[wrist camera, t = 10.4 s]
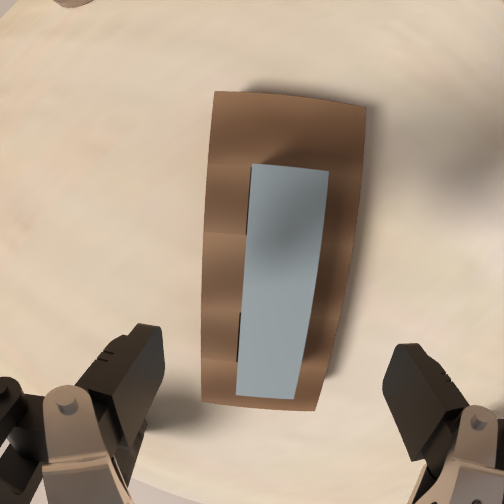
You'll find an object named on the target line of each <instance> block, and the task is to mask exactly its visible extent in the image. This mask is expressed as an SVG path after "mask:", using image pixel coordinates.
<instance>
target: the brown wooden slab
mask: <svg viewBox="0 0 504 504" xmlns="http://www.w3.org/2000/svg"><path fill="white" fill-rule="evenodd" d="M365 122H366V107H361V106H356V105H351V104H345V103H340V102H334V101H328V100H321V99H314V98H307V97H299V96H290V95H280V94H268V93H253V92H228V91H215V92H214V101H213V110H212V121H211V131H210V142H209V154H208V167H207V181H206V196H205V213H204V233H203V257H202V292H201V389H202V402H207V403H214V404H221V405H229V406H238V407H248V408H259V409H272V410H290V411H315V409H316V406H317V402H318V399H319V396H320V392H321V389H322V385H323V382H324V378H325V375H326V371H327V367H328V363H329V360H330V356H331V352H332V348H333V344H334V340H335V335H336V331H337V327H338V322H339V318H340V313H341V308H342V304H343V299H344V294H345V289H346V283H347V278H348V273H349V267H350V261H351V255H352V249H353V242H354V236H355V229H356V222H357V214H358V206H359V197H360V188H361V178H362V167H363V155H364V141H365ZM252 164H264V165H276V166H286V167H296V168H305V169H314V170H322V171H329V177H328V187H327V198H326V207H325V216H324V225H323V233H322V241H321V249H320V256H319V263H318V270H317V277H316V284H315V290H314V296H313V303H312V309H311V314H310V320H309V326H308V331H307V337H306V342H305V347H304V353H303V358H302V363H301V367H300V372H299V377H298V382H297V386H296V391H295V395H294V399H277V398H263V397H251V396H241V395H236V383H237V368H238V353H239V338H240V324H241V309H242V295H243V281H244V267H245V253H246V239H247V226H248V212H249V199H250V186H251V173H252Z"/></svg>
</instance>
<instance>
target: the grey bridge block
mask: <svg viewBox="0 0 504 504" xmlns="http://www.w3.org/2000/svg"><path fill="white" fill-rule="evenodd" d="M328 177H329V171H322V170H314V169H305V168H296V167H286V166H276V165H264V164H252V173H251V186H250V199H249V212H248V226H247V239H246V253H245V267H244V281H243V295H242V309H241V324H240V338H239V353H238V368H237V383H236V395H241V396H251V397H263V398H277V399H294V395H295V391H296V386H297V382H298V377H299V372H300V367H301V363H302V358H303V353H304V347H305V342H306V337H307V331H308V326H309V320H310V314H311V309H312V303H313V296H314V290H315V284H316V277H317V270H318V263H319V256H320V249H321V241H322V233H323V225H324V216H325V207H326V198H327V187H328Z"/></svg>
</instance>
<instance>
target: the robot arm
mask: <svg viewBox="0 0 504 504" xmlns="http://www.w3.org/2000/svg"><path fill="white" fill-rule="evenodd" d="M53 1H55V2H56V3H58V4H59V5H61V6H62V7H66V8H73V7H77V6H81V5H83V4H85V3H88V2H90V1H91V0H53ZM164 371H165V361H164V350H163V339H162V330H161V328H160V327H159V326H152V325H147V324H141V323H138V324H137V325H136V326H135V327H134V329H133V330H132V331H131V332H130V334H129V335H128V336H127V335H121V336H119V337H118V338H116V339H114V340H112V341H111V342H110V343H109V344H108V345H107V346H106V348H105V349H104V350H103V352H101V354H100V355H99V356H98V357H97V360H95V361H94V362H93V363H92V364H91V366H90V367H89V368H88V369H87V370H86V372H85V373H84V374H83V375H82V377H81V378H80V379H79V380H78V382H77V383H76V384H75V385H74V386H73V385H65V386H60V387H57V388H55V389H53V390H51V391H50V392H49V393H48V394H47V395H46V396H45V397H44V396H36V395H30V394H24V393H23V391H22V389H21V386H20V384H19V383H18V381H16V380H15V379H13V378H11V377H0V447H1V445H2V444H3V442H4V441H5V439H6V438H7V439H8V440H9V442H10V444H9V446H8V447H7V449H6V450H5V452H4V453H3V455H2V456H1V458H0V504H30V502H31V500H32V498H33V496H34V494H35V492H36V490H37V488H38V486H39V484H40V482H41V480H42V478H43V480H44V486H45V490H46V495H47V500H48V504H134V502H133V500H132V498H131V495H130V493H129V491H128V488H127V486H126V484H125V482H124V479H123V477H122V474H121V472H120V469H119V467H118V464H117V462H116V459H115V457H114V453H115V451H116V449H117V447H118V446H119V447H122V448H125V449H128V450H130V449H131V447H132V445H133V442H134V440H135V438H136V436H137V434H138V431H139V429H140V427H141V425H142V423H143V421H144V418H145V416H146V414H147V412H148V410H149V408H150V406H151V403H152V401H153V399H154V397H155V395H156V393H157V391H158V389H159V387H160V384H161V382H162V380H163V377H164ZM382 390H383V395H384V397H385V399H386V402H387V404H388V406H389V409H390V411H391V413H392V415H393V418H394V420H395V422H396V425H397V427H398V430H399V432H400V434H401V437H402V439H403V442H404V444H405V447H406V449H407V451H408V454H409V457H410V459H411V462H413V461H417V460H421V459H425V460H426V464H425V465H424V466H423V468H422V470H421V472H420V475H419V478H418V480H417V482H416V485H415V487H414V490H413V492H412V494H411V496H410V498H409V501H408V503H407V504H504V419H496V417H495V415H494V414H493V413H492V412H491V411H490V410H489V409H487V408H485V407H483V406H479V405H471V406H470V405H469V404H468V402H467V401H466V399H465V398H464V396H463V395H462V394H461V392H460V391H459V389H458V388H457V387H456V385H455V384H454V383H453V382H451V379H450V377H449V376H448V374H446V372H445V370H444V369H443V368H442V366H441V365H440V364H439V363H438V362H436V361H435V360H434V359H432V358H431V357H430V356H428V355H427V354H426V352H425V351H424V350H423V348H422V347H421V346H420V345H419V344H418V343H410V344H398V345H397V346H396V347H395V349H394V352H393V355H392V358H391V361H390V363H389V366H388V369H387V371H386V374H385V376H384V379H383V385H382Z"/></svg>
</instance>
